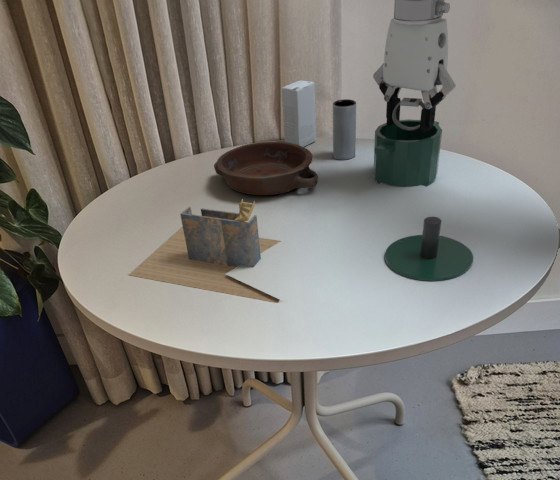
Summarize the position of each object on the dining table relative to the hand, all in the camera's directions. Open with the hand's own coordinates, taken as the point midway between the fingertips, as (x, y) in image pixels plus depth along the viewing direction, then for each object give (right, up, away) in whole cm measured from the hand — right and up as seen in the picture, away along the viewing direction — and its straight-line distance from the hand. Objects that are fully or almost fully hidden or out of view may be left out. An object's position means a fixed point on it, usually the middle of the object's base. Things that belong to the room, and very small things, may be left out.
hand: (409, 126), depth 102 cm
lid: (-1, -27, -18) cm, 32 cm away
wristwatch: (0, -1, +1) cm, 1 cm away
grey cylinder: (-10, +1, +16) cm, 19 cm away
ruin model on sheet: (-32, -27, -13) cm, 43 cm away
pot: (+1, -7, +6) cm, 9 cm away
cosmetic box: (-19, +5, +23) cm, 30 cm away
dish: (-26, -8, +8) cm, 28 cm away
